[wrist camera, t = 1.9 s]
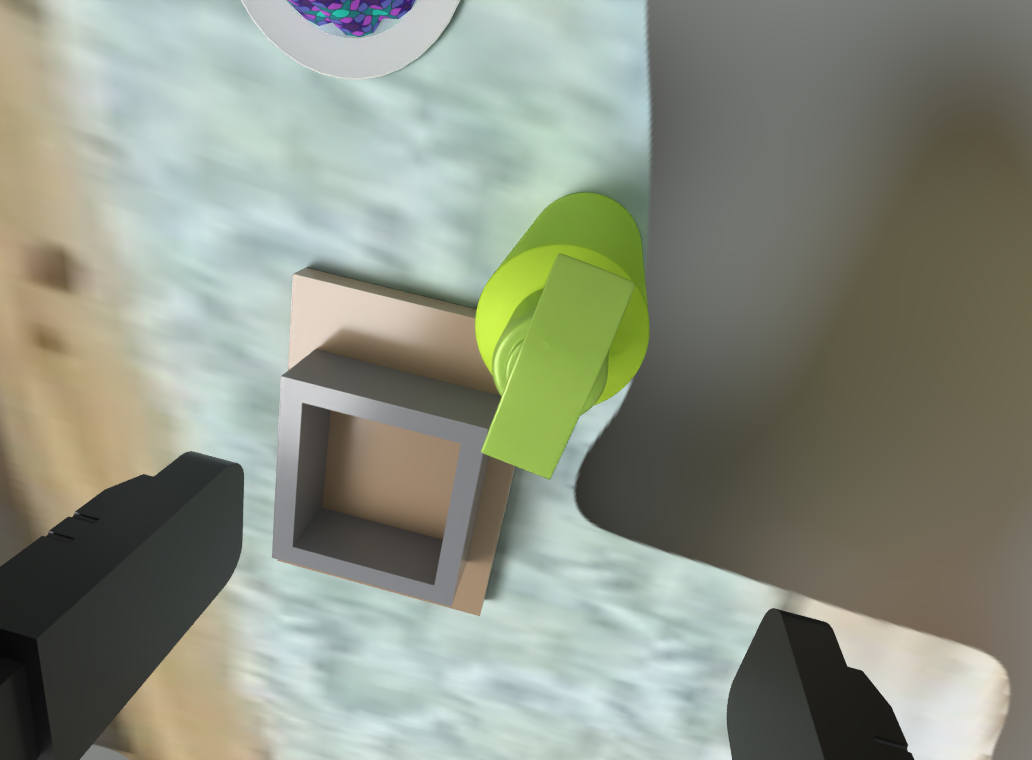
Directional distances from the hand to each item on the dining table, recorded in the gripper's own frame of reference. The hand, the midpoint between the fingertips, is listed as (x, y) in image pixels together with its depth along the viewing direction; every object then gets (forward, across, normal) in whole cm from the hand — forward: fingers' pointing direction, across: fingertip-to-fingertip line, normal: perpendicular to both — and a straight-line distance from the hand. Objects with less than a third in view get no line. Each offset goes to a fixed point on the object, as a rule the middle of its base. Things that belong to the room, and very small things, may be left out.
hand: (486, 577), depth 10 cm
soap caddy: (+26, +8, +15) cm, 31 cm away
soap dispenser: (+26, 0, 0) cm, 26 cm away
